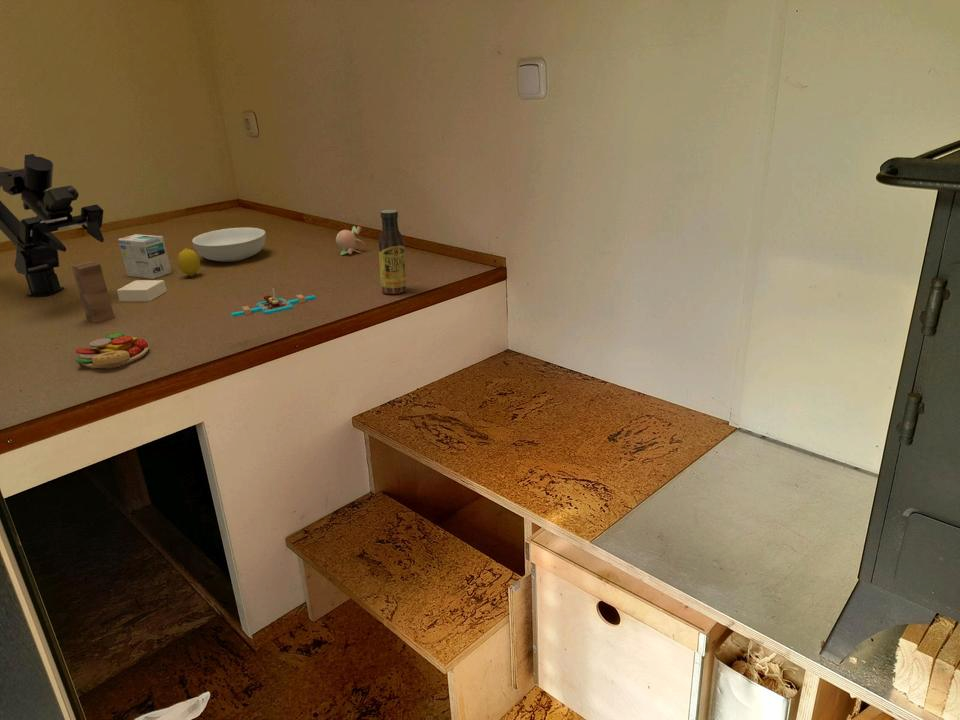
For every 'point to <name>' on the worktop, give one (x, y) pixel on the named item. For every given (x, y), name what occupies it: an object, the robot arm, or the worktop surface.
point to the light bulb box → (144, 256)
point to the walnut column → (93, 291)
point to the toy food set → (112, 351)
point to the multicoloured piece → (273, 305)
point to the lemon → (188, 262)
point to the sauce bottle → (391, 254)
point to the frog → (348, 240)
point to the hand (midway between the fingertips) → (84, 245)
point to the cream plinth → (142, 290)
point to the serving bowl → (230, 243)
